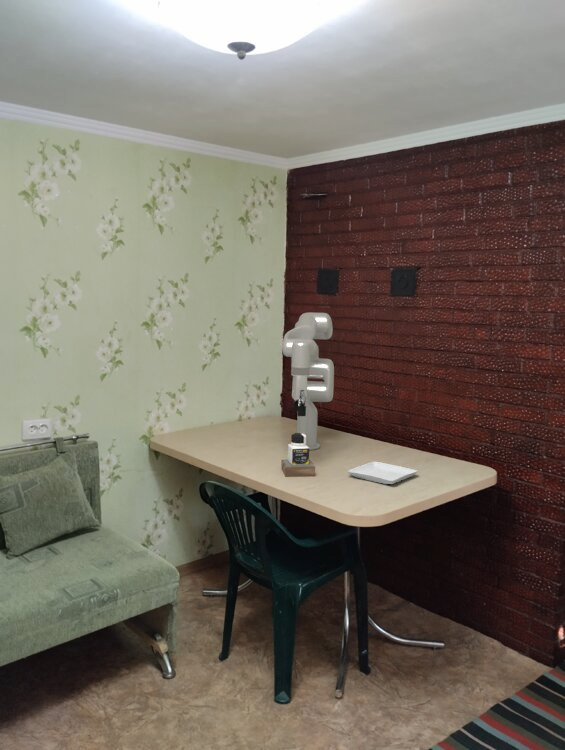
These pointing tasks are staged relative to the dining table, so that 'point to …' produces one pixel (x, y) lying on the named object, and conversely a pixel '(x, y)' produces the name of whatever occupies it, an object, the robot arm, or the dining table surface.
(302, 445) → the medicine bottle
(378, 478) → the salad plate
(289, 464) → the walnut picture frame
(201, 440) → the dining table surface
